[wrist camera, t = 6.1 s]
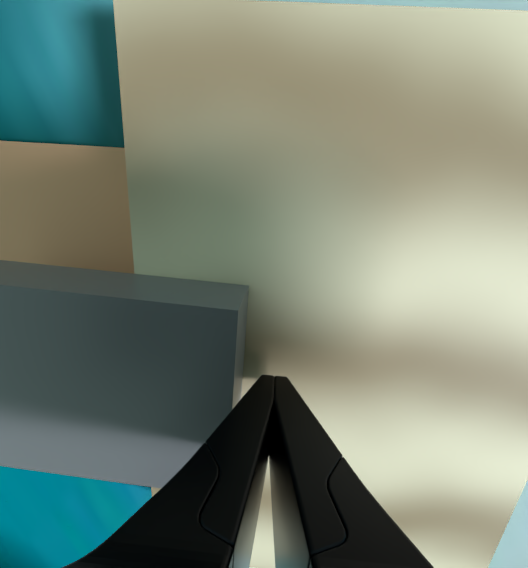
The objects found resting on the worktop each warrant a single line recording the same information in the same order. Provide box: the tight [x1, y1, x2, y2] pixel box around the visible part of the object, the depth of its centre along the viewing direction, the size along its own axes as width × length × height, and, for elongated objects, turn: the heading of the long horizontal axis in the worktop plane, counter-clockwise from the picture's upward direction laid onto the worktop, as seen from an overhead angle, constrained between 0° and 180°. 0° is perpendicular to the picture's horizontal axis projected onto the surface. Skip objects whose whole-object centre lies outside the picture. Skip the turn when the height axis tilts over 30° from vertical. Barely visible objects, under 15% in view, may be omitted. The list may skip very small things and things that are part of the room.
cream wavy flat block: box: [113, 0, 528, 568], centre depth 10 cm, size 20×14×2 cm
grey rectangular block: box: [0, 260, 249, 488], centre depth 8 cm, size 6×9×2 cm, turn 85°
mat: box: [0, 141, 134, 274], centre depth 12 cm, size 14×12×1 cm
